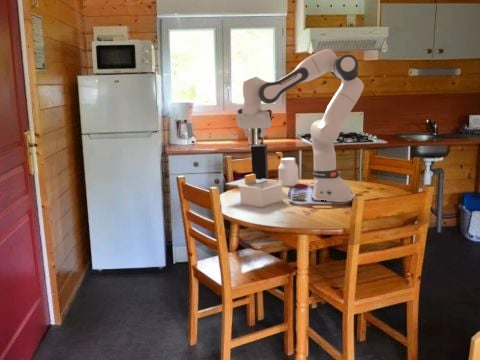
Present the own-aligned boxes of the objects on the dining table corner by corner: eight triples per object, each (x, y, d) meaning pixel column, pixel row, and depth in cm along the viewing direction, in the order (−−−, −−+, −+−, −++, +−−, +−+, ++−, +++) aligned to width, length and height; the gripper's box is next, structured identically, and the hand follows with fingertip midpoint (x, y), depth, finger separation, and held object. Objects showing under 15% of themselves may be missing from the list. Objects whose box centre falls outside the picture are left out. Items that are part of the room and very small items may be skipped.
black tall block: (266, 189, 268) (264, 140, 262) (253, 189, 269) (250, 140, 264) (268, 186, 275) (266, 138, 270) (255, 186, 277) (252, 138, 271)
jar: (291, 186, 272) (290, 160, 269) (276, 185, 278) (275, 159, 275) (300, 182, 281) (300, 157, 278) (286, 181, 287) (285, 156, 284)
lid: (266, 181, 246) (266, 172, 245) (245, 187, 234) (245, 178, 233) (246, 179, 255) (246, 170, 254) (225, 184, 244) (225, 175, 243)
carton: (284, 200, 241) (283, 181, 239) (260, 208, 228) (259, 188, 226) (262, 197, 251) (262, 178, 249) (239, 204, 238) (238, 185, 236)
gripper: (272, 108, 238) (274, 136, 241) (242, 109, 252) (244, 135, 254) (264, 110, 233) (266, 138, 236) (234, 110, 247) (236, 137, 250)
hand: (254, 136), depth 245 cm, fingers open, 8 cm apart
